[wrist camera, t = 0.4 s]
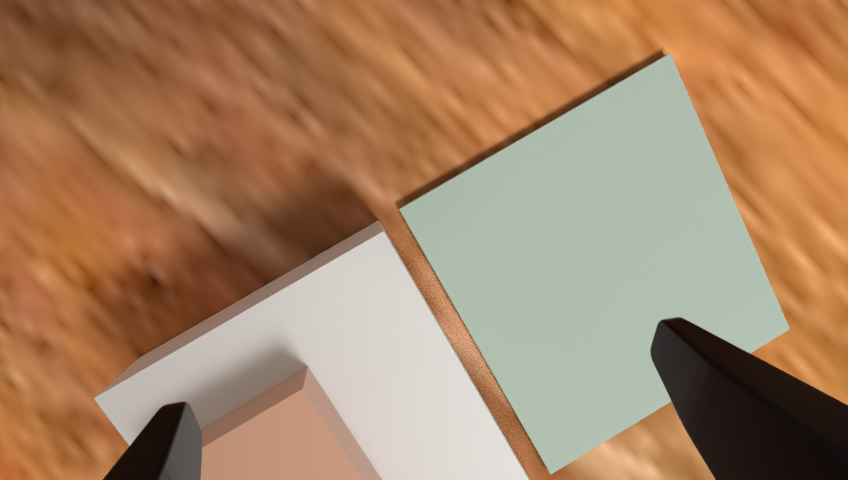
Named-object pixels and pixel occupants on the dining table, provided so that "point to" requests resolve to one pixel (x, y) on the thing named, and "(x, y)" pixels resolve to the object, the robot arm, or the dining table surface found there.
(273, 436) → the tile
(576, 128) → the mat
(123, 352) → the dining table surface
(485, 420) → the board
